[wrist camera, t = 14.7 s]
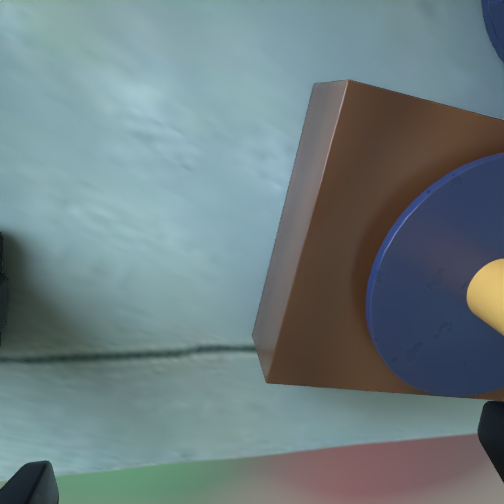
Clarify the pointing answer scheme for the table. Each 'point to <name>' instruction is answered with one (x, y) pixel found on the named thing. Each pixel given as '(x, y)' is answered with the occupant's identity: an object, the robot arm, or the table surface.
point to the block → (353, 227)
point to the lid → (444, 285)
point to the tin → (495, 23)
